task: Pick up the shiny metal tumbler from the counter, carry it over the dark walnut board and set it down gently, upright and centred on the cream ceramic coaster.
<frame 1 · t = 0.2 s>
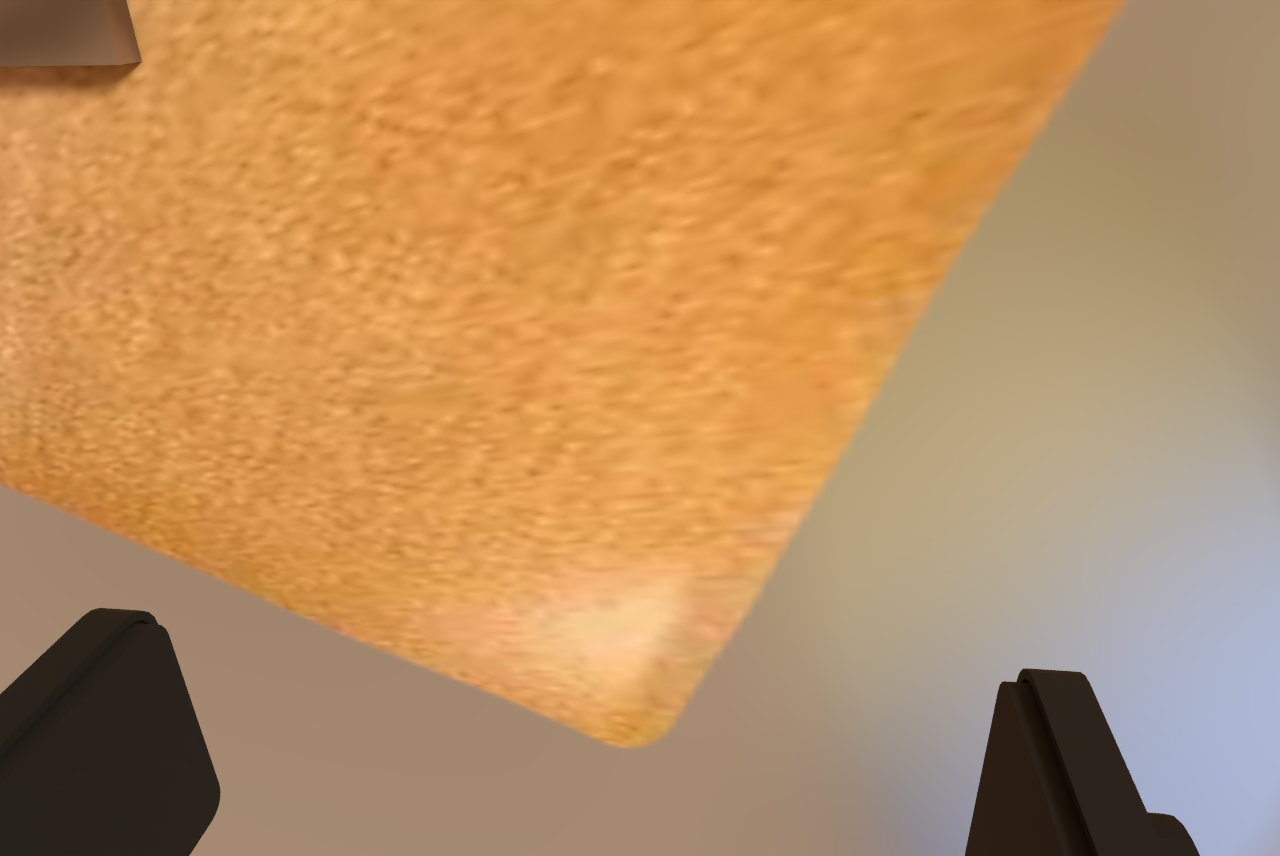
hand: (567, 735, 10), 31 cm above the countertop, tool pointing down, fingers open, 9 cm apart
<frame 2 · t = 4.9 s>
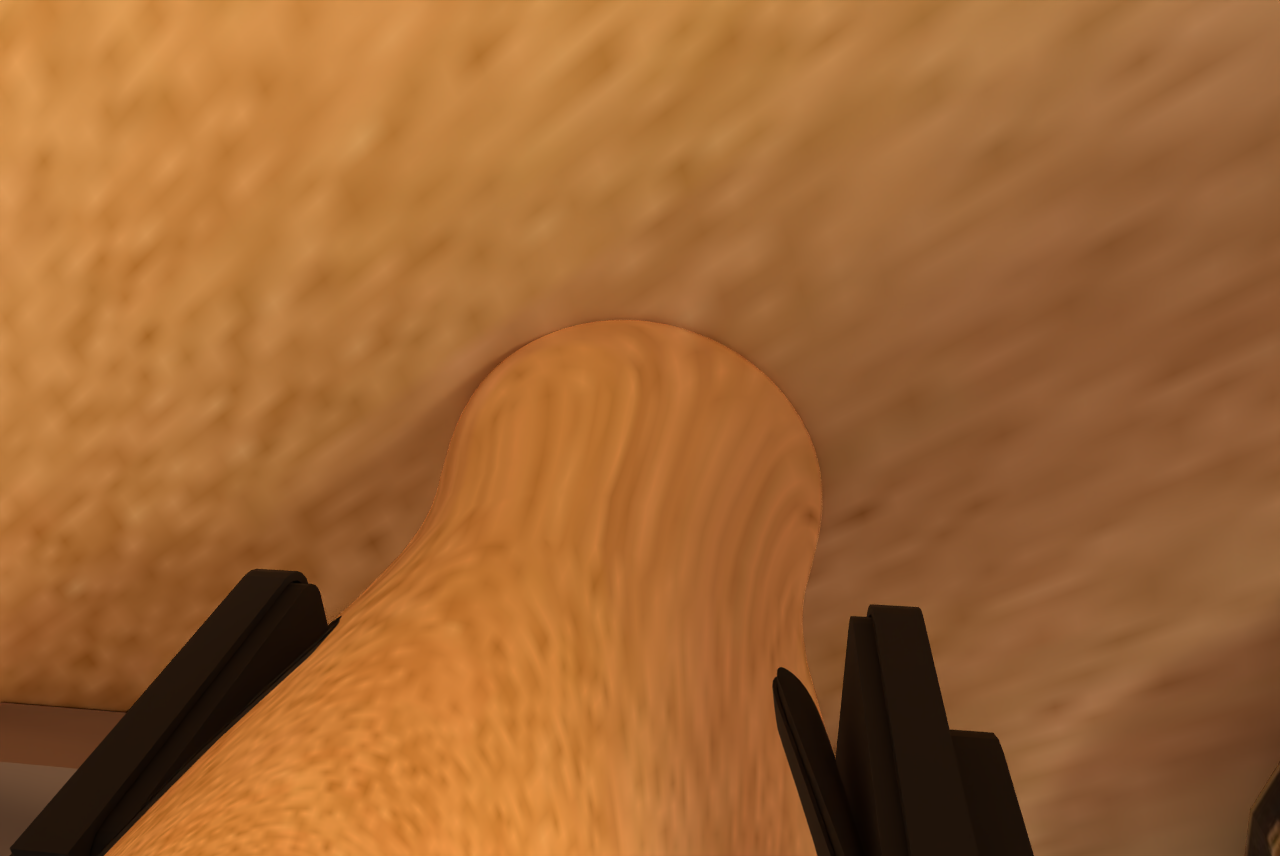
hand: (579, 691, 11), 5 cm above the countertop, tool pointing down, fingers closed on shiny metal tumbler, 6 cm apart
shiny metal tumbler: (635, 484, 15), on the countertop, touching gripper
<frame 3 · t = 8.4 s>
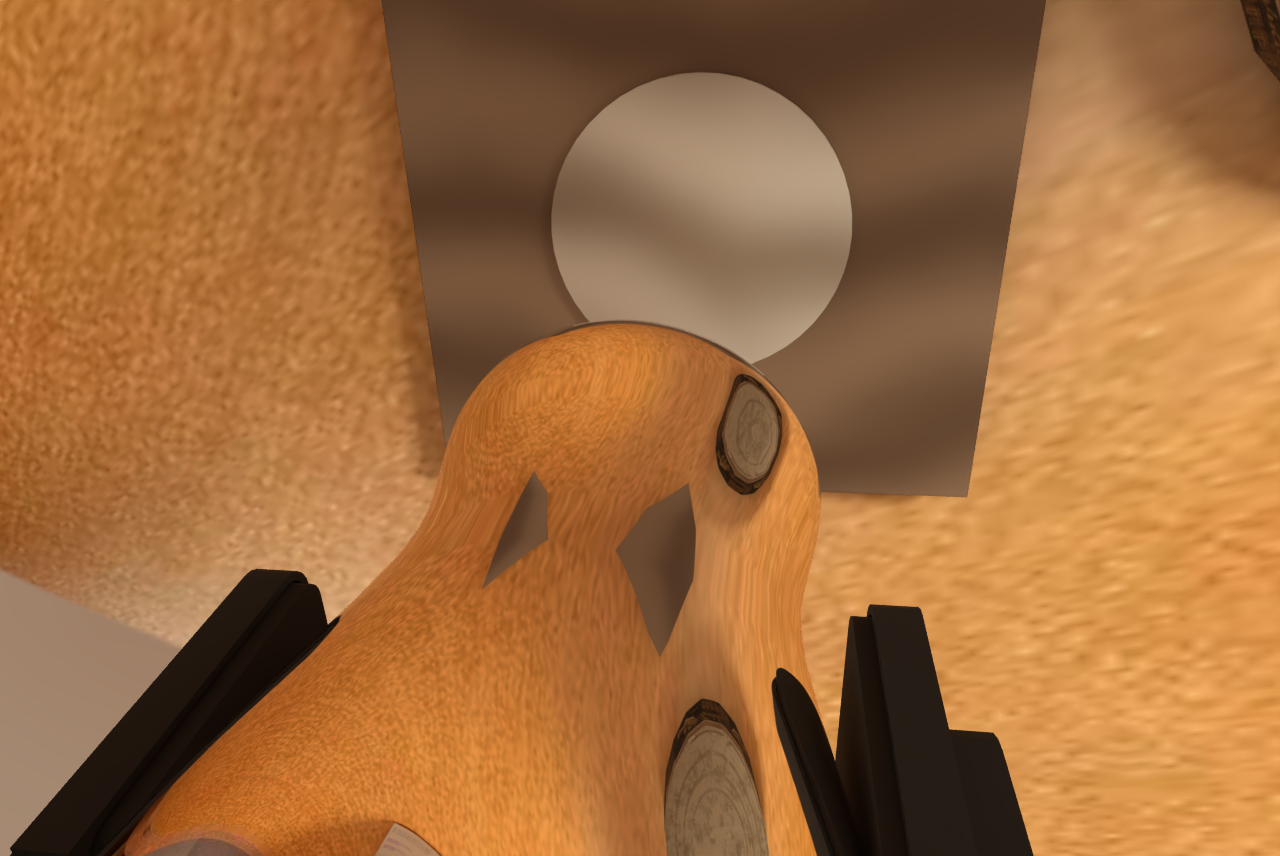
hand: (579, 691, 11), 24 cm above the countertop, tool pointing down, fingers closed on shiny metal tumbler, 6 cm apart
coaster board: (702, 219, 32), on the countertop
shiny metal tumbler: (633, 484, 15), point 19 cm above the countertop, touching gripper
when the fingers open (7 cm above the countertop, at t = 11.8 s): shiny metal tumbler stays where it is, resting on coaster board.
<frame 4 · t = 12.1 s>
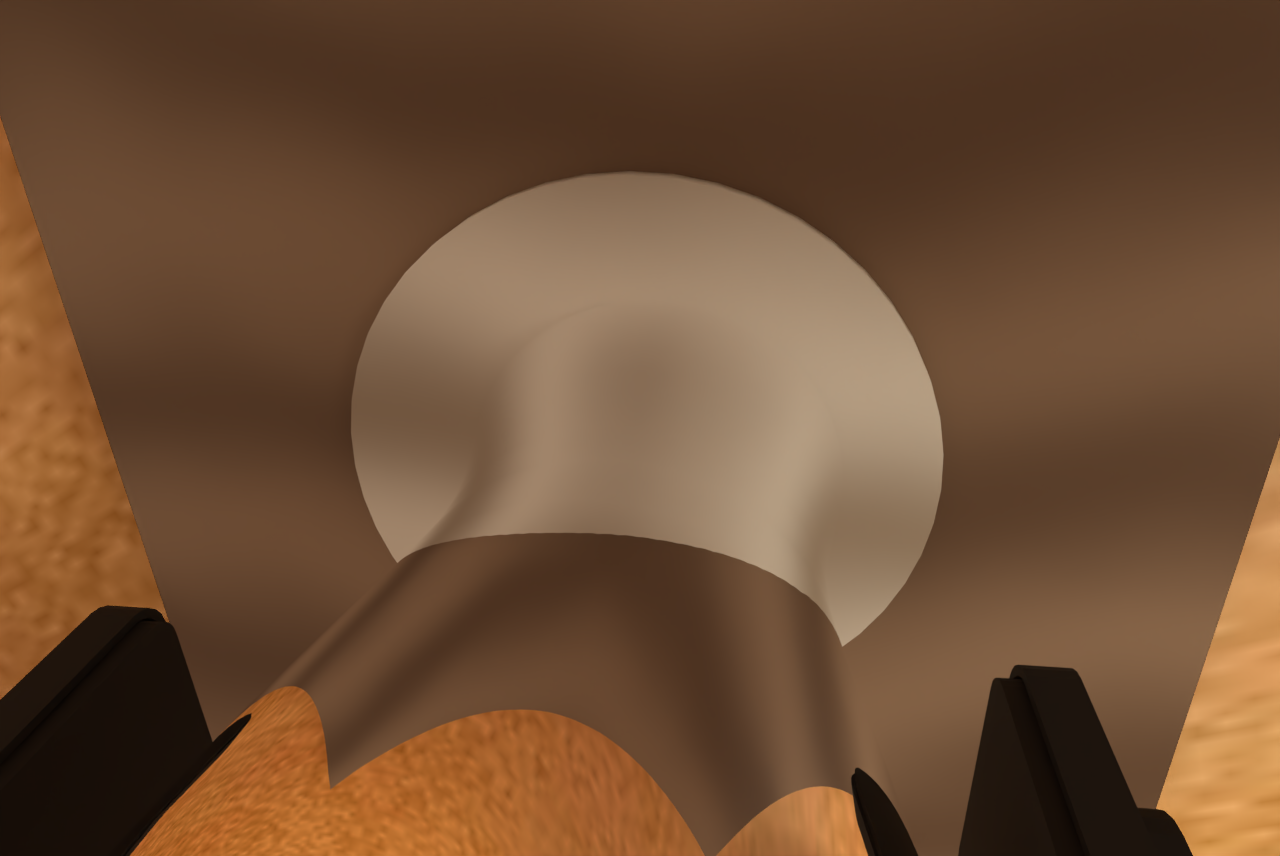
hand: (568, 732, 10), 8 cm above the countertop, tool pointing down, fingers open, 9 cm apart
coaster board: (649, 426, 17), on the countertop
shiny metal tumbler: (657, 463, 15), point 2 cm above the countertop, touching coaster board
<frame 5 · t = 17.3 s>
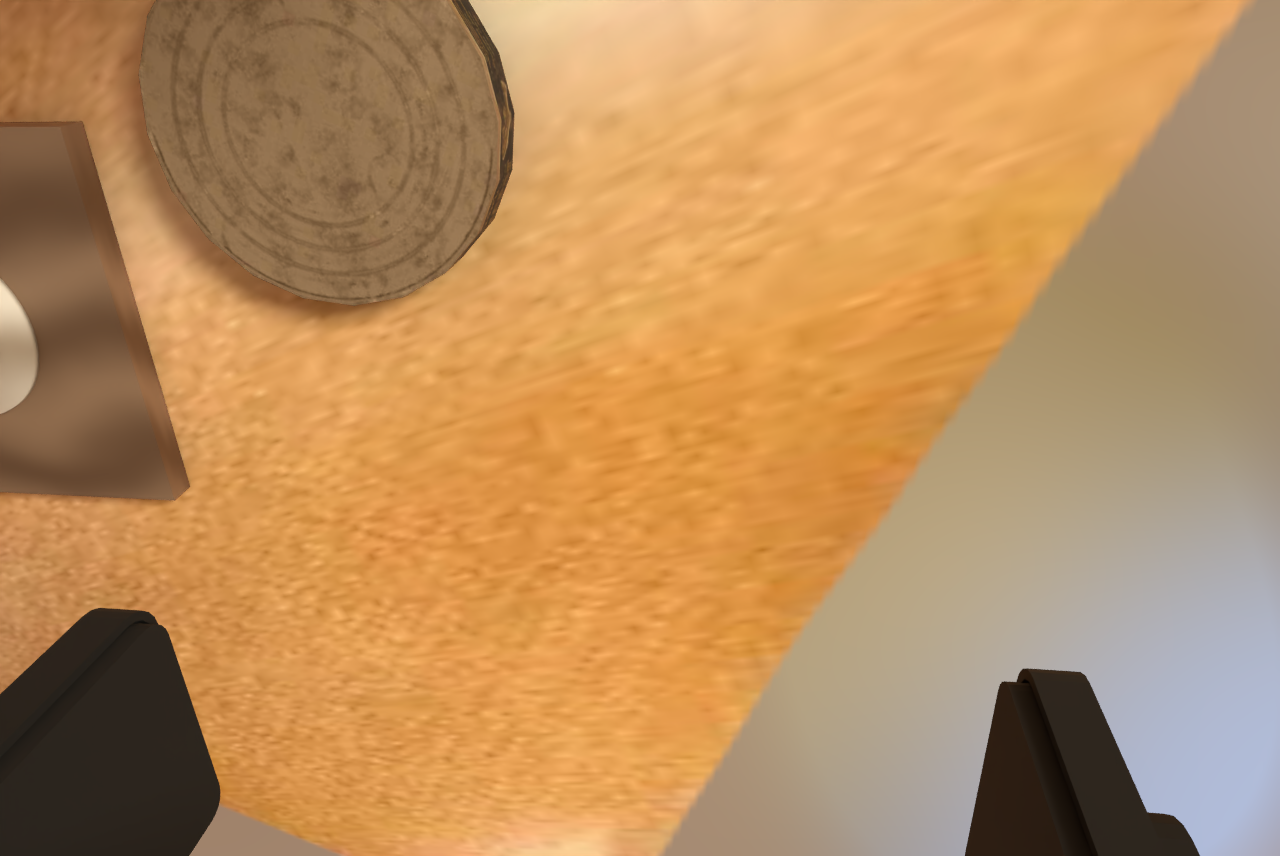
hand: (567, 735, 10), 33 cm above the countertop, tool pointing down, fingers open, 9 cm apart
brown flat disc: (348, 117, 41), on the countertop
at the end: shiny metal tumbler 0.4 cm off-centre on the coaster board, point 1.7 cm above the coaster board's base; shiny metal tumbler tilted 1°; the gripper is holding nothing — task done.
